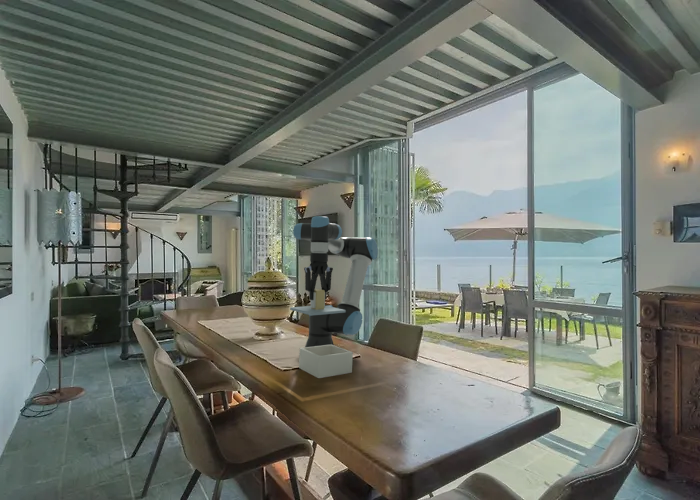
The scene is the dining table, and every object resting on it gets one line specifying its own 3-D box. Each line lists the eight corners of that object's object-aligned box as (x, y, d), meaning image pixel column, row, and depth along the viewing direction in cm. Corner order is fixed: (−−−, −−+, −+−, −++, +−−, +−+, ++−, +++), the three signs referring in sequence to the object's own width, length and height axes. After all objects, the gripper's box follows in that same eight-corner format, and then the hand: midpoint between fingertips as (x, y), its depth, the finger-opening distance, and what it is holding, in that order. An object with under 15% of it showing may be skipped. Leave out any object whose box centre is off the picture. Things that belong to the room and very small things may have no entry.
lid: (322, 307, 175) (323, 287, 175) (345, 312, 162) (346, 291, 162) (290, 309, 165) (290, 288, 165) (311, 315, 151) (312, 292, 151)
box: (330, 364, 170) (331, 344, 170) (351, 374, 157) (352, 352, 157) (298, 369, 161) (299, 348, 161) (318, 380, 148) (319, 356, 148)
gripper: (330, 252, 172) (328, 305, 172) (297, 252, 161) (295, 307, 161) (340, 253, 166) (338, 307, 166) (306, 252, 155) (305, 309, 155)
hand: (317, 307), depth 163 cm, fingers closed on lid, 4 cm apart
